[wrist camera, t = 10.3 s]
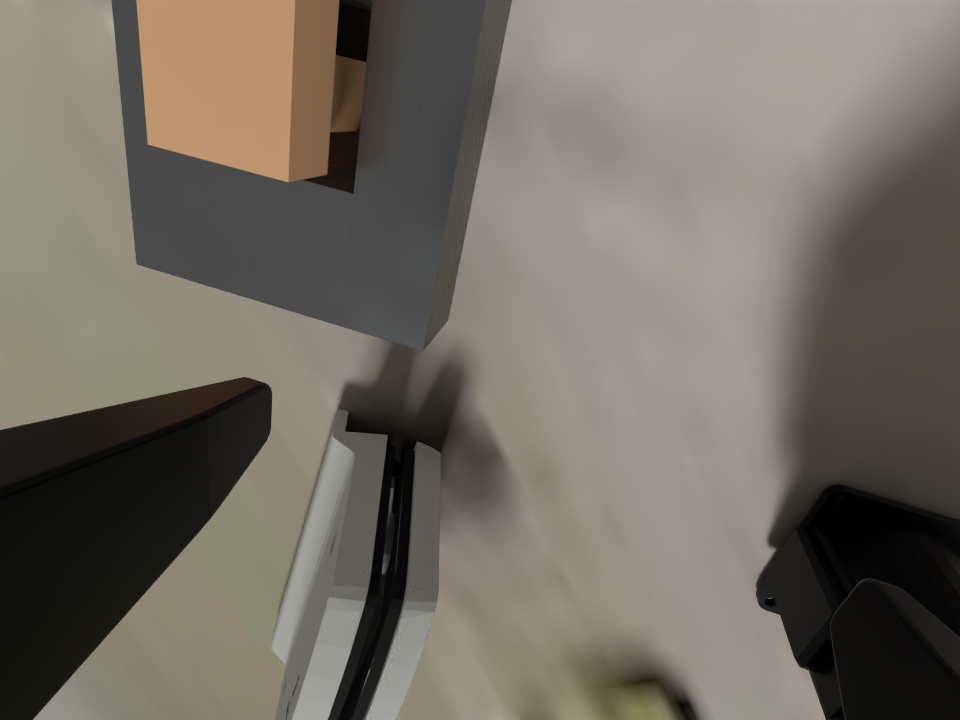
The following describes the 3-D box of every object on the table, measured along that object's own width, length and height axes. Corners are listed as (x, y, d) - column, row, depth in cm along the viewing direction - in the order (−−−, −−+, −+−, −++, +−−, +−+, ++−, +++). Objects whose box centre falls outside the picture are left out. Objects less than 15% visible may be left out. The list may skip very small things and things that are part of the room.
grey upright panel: (339, 401, 23) (292, 612, 15) (441, 425, 24) (452, 632, 16) (276, 620, 31) (221, 841, 22) (355, 630, 32) (332, 842, 24)
